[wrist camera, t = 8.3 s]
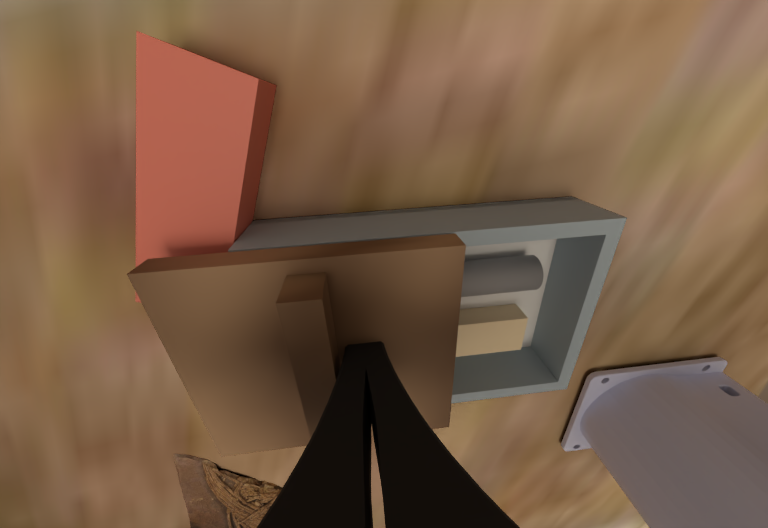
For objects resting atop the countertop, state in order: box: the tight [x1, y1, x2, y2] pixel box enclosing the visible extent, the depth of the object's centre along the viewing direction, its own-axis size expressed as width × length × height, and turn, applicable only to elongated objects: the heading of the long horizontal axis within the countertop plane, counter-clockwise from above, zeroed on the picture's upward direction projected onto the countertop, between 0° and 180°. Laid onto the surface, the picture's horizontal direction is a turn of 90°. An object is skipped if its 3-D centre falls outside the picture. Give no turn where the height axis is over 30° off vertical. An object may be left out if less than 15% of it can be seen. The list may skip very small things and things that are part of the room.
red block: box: [136, 31, 277, 302], centre depth 11 cm, size 3×9×3 cm, turn 160°
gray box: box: [228, 196, 627, 403], centre depth 14 cm, size 14×9×3 cm, turn 92°
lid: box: [127, 234, 466, 457], centre depth 11 cm, size 10×9×2 cm
